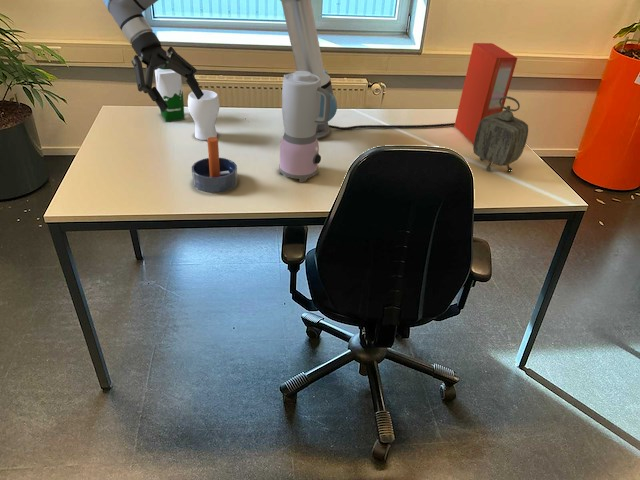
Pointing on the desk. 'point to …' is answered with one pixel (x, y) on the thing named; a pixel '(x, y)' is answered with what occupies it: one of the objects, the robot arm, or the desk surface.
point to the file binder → (484, 86)
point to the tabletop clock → (501, 137)
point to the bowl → (214, 183)
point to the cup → (204, 113)
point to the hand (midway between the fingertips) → (183, 103)
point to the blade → (214, 158)
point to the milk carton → (170, 93)
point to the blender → (301, 124)
